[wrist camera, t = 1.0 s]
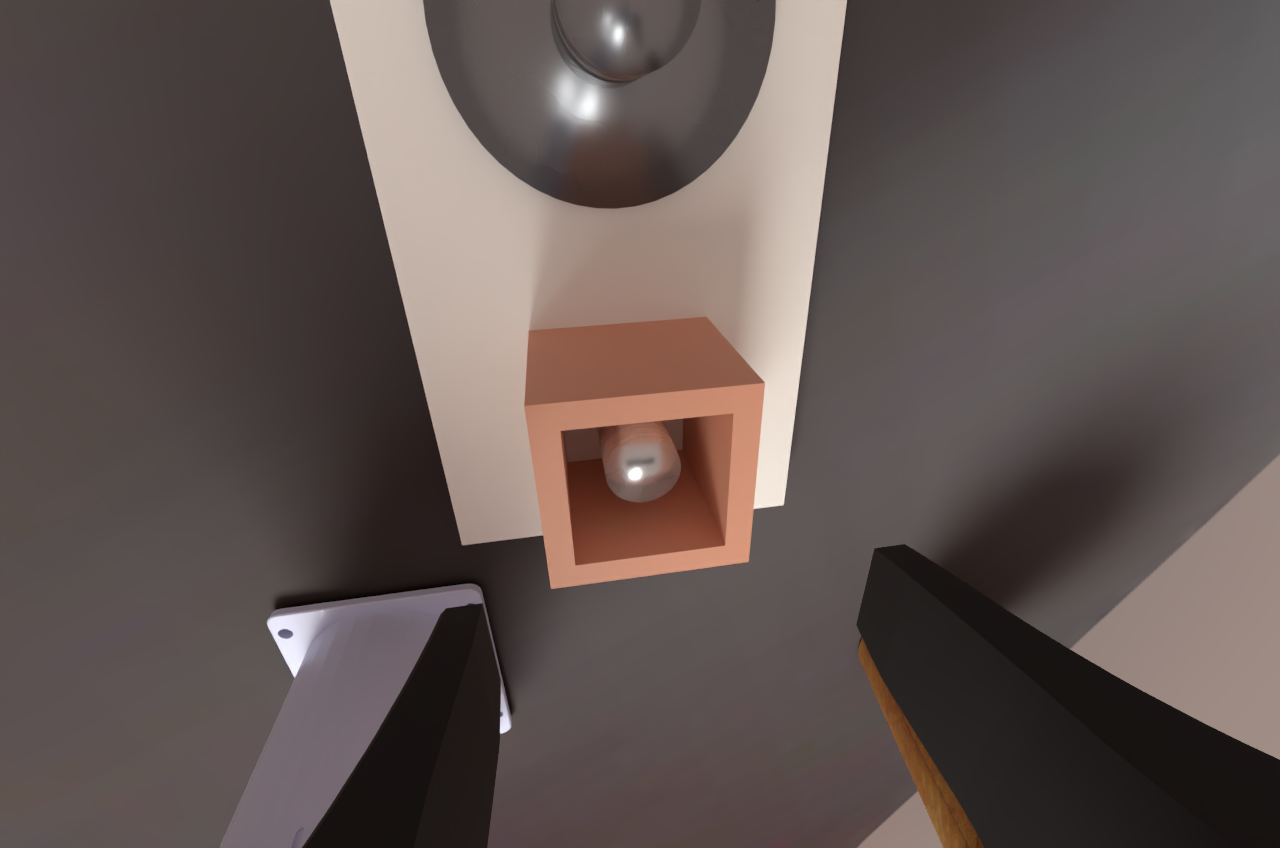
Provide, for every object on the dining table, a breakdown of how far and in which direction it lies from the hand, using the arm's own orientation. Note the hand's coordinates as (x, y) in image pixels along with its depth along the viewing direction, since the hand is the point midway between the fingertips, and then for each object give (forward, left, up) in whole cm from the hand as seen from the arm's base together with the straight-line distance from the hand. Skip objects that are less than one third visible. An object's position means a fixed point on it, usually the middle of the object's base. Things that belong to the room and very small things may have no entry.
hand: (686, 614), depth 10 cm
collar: (0, 0, -9) cm, 9 cm away
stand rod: (0, 0, -9) cm, 9 cm away
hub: (+10, 0, -9) cm, 13 cm away
